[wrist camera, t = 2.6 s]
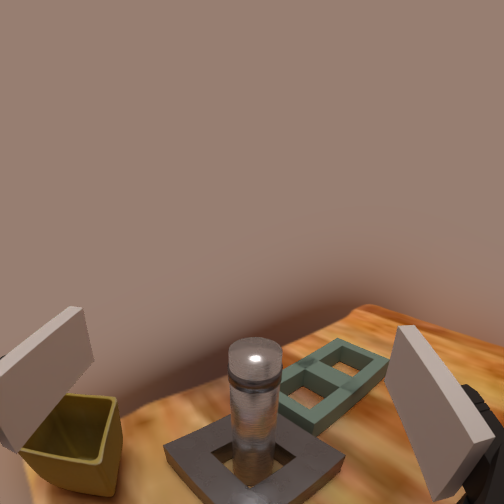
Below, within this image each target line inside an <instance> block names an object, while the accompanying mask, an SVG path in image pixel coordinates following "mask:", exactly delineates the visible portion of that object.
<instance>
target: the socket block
mask: <svg viewBox="0 0 504 504" xmlns="http://www.w3.org/2000/svg"><path fill="white" fill-rule="evenodd" d="M163 448H164V451H165V455H166V458H167V462H168V463H169V464H170V465H171V467H172V468H173V469H174V470H175V472H176V473H177V474H178V475H179V476H180V477H181V479H182V480H183V481H184V482H185V483H186V484H187V486H188V487H189V488H190V489H191V490H192V491H193V492H194V493H195V494H196V496H197V497H198V498H199V499H200V500H201V501H202V502H203V503H204V504H302V503H304V502H305V501H306V500H307V499H309V498H310V497H311V496H312V495H313V494H315V493H316V492H317V491H318V490H319V489H321V488H322V487H323V486H324V485H325V484H326V483H328V482H329V481H330V480H331V479H332V478H333V477H334V476H335V475H336V474H338V473H339V472H340V470H341V467H342V464H343V462H344V459H345V456H346V455H345V454H343V453H341V452H339V451H338V450H336V449H334V448H333V447H331V446H329V445H328V444H326V443H324V442H323V441H321V440H319V439H318V438H316V437H315V436H313V435H311V434H310V433H308V432H307V431H305V430H303V429H302V428H300V427H299V426H297V425H296V424H294V423H293V422H291V421H290V420H288V419H287V418H285V417H284V416H282V415H281V414H279V413H278V416H277V427H276V438H275V449H274V459H275V460H277V461H278V462H279V463H281V464H282V465H283V466H284V467H282V468H281V469H279V470H278V471H276V472H275V473H273V474H272V475H271V476H269V477H268V478H266V479H265V480H263V481H261V482H260V483H258V484H257V485H255V486H254V487H252V488H248V487H247V486H246V485H245V484H244V483H243V482H242V481H240V480H239V479H238V478H237V477H236V476H235V475H234V474H233V473H232V472H230V471H229V470H228V469H227V468H226V467H225V466H224V465H223V464H222V463H224V462H226V461H227V460H229V459H231V458H233V452H232V430H231V414H230V415H228V416H226V417H224V418H222V419H220V420H218V421H216V422H213V423H211V424H209V425H207V426H205V427H203V428H201V429H199V430H197V431H194V432H192V433H190V434H188V435H186V436H183V437H181V438H179V439H177V440H174V441H172V442H170V443H167V444H165V445H163Z"/></svg>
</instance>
